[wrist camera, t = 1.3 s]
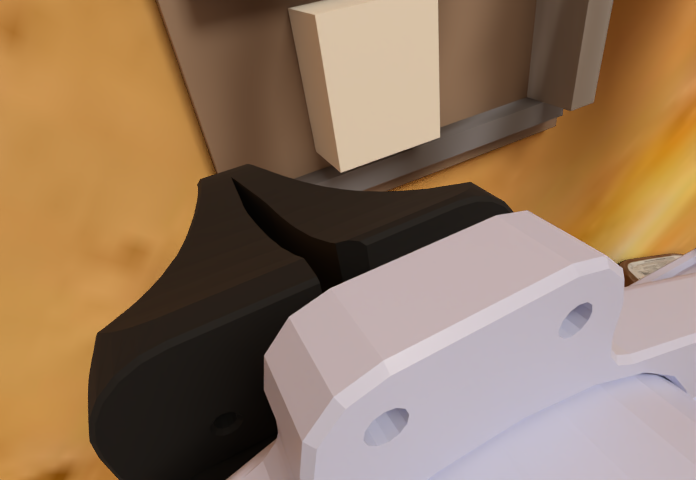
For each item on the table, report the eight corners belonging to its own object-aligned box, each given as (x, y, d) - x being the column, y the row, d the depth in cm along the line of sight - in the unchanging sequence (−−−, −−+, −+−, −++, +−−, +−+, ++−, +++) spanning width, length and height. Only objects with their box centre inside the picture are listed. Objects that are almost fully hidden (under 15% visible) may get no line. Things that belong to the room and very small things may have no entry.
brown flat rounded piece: (588, 285, 41) (680, 346, 35) (603, 256, 40) (702, 314, 33) (675, 270, 48) (764, 317, 42) (690, 244, 47) (785, 290, 40)
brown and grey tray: (581, -152, 20) (663, -170, 17) (545, 122, 28) (598, 141, 25) (126, -85, 14) (135, -96, 11) (239, 237, 22) (261, 279, 19)
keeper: (399, -18, 18) (437, -15, 16) (407, 120, 22) (439, 137, 20) (287, 8, 17) (314, 14, 15) (315, 151, 21) (340, 172, 18)
